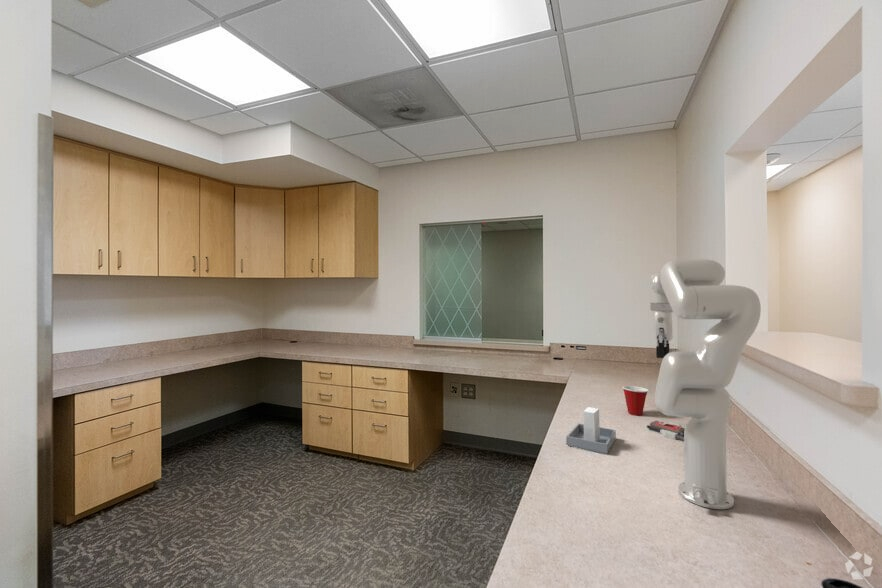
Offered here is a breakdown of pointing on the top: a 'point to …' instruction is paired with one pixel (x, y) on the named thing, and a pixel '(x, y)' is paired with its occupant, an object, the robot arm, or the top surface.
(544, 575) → the top surface
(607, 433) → the tray
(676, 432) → the walkie-talkie
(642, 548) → the top surface
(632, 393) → the plastic cup
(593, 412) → the skincare box
